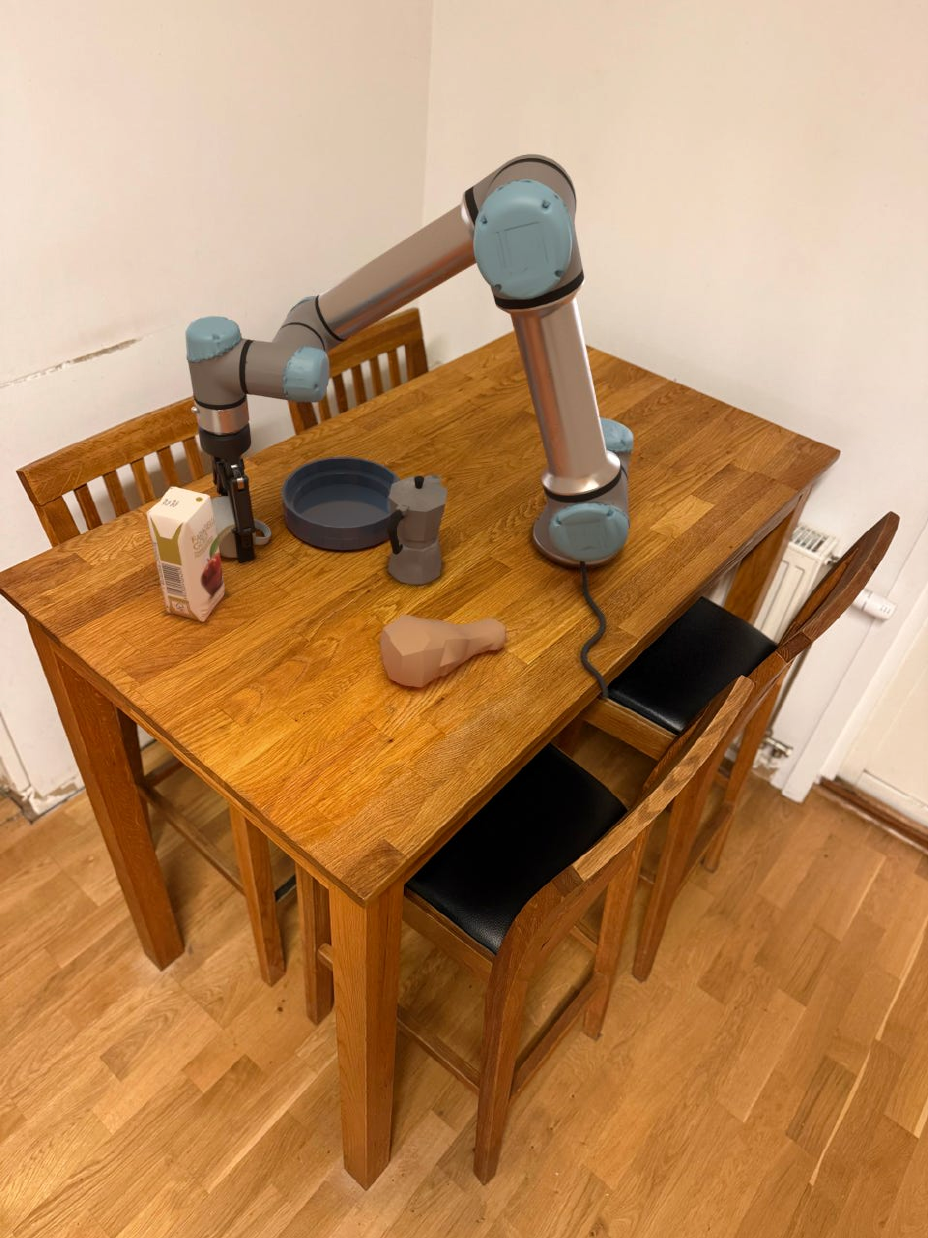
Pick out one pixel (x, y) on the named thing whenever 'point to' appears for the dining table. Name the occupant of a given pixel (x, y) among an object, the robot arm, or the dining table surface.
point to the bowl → (339, 502)
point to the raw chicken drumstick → (434, 646)
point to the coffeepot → (416, 529)
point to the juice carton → (187, 553)
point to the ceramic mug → (225, 525)
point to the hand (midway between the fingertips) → (238, 542)
